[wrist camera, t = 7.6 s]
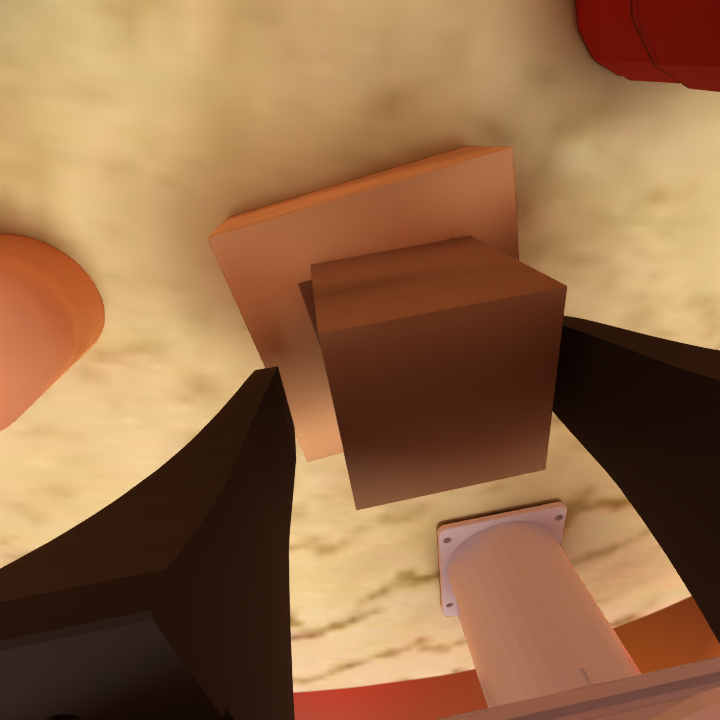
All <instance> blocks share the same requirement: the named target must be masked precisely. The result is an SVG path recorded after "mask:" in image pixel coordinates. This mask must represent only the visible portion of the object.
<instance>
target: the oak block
mask: <svg viewBox="0 0 720 720" xmlns="http://www.w3.org/2000/svg"><path fill="white" fill-rule="evenodd" d="M466 236H472V237H474V238H476V239H478V240H480V241H482V242H484V243H486V244H487V245H489V246H491V247H493V248H495V249H497V250H499V251H501V252H503V253H505V254H507V255H508V256H510V257H512V258H514V259H516V260H518V261H519V251H518V234H517V216H516V198H515V181H514V163H513V147H476V146H466V147H462V148H459V149H456V150H452V151H449V152H446V153H442V154H439V155H436V156H432V157H429V158H426V159H422V160H419V161H416V162H412V163H409V164H406V165H402V166H399V167H396V168H392V169H389V170H386V171H382V172H379V173H376V174H372V175H369V176H366V177H362V178H359V179H356V180H352V181H349V182H346V183H342V184H339V185H335V186H332V187H329V188H325V189H322V190H319V191H315V192H312V193H309V194H305V195H302V196H299V197H295V198H292V199H289V200H285V201H282V202H279V203H275V204H272V205H269V206H265V207H262V208H259V209H255V210H252V211H249V212H245V213H242V214H239V215H235V216H232V217H229V218H227V219H226V220H225V221H224V222H223V223H222V224H221V225H220V226H219V227H218V228H217V229H216V230H215V231H214V232H213V233H212V234H211V235H210V236H209V237H208V240H209V243H210V245H211V247H212V249H213V252H214V254H215V256H216V258H217V260H218V263H219V265H220V267H221V269H222V272H223V274H224V276H225V278H226V281H227V283H228V285H229V287H230V290H231V292H232V294H233V296H234V299H235V301H236V303H237V305H238V307H239V310H240V312H241V314H242V316H243V319H244V321H245V323H246V325H247V328H248V330H249V332H250V334H251V337H252V339H253V341H254V343H255V345H256V348H257V350H258V352H259V354H260V357H261V359H262V361H263V363H264V366H265V368H271V367H276V366H278V368H279V372H280V375H281V379H282V383H283V386H284V390H285V394H286V397H287V401H288V405H289V408H290V412H291V416H292V419H293V423H294V427H295V435H296V437H297V439H298V442H299V444H300V446H301V448H302V451H303V453H304V455H305V457H306V460H307V462H310V461H313V460H317V459H320V458H324V457H327V456H331V455H334V454H337V453H341V452H344V451H343V446H342V442H341V437H340V433H339V428H338V423H337V419H336V414H335V410H334V405H333V400H332V396H331V391H330V387H329V382H328V377H327V373H326V368H325V364H324V359H323V355H322V350H321V345H320V341H319V336H318V329H317V320H316V312H315V303H314V294H313V285H312V276H311V267H310V265H312V264H318V263H323V262H329V261H334V260H340V259H345V258H351V257H356V256H362V255H367V254H373V253H378V252H384V251H389V250H395V249H400V248H406V247H411V246H417V245H422V244H428V243H433V242H439V241H444V240H450V239H455V238H461V237H466Z"/></svg>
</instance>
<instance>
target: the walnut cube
mask: <svg viewBox="0 0 720 720" xmlns="http://www.w3.org/2000/svg"><path fill="white" fill-rule="evenodd" d="M310 267H311V276H312V285H313V294H314V303H315V312H316V320H317V329H318V336H319V341H320V345H321V350H322V355H323V359H324V364H325V368H326V373H327V377H328V382H329V387H330V391H331V396H332V400H333V405H334V410H335V414H336V419H337V423H338V428H339V433H340V437H341V442H342V446H343V451H344V456H345V460H346V465H347V469H348V474H349V479H350V483H351V488H352V492H353V497H354V501H355V506H356V510H360V509H364V508H369V507H374V506H378V505H383V504H388V503H392V502H397V501H402V500H406V499H411V498H415V497H420V496H425V495H429V494H434V493H439V492H443V491H448V490H452V489H457V488H462V487H466V486H471V485H476V484H480V483H485V482H490V481H494V480H499V479H503V478H508V477H513V476H517V475H522V474H527V473H531V472H536V471H540V470H545V468H546V459H547V451H548V442H549V434H550V426H551V417H552V409H553V400H554V392H555V383H556V375H557V367H558V358H559V350H560V341H561V333H562V325H563V316H564V308H565V299H566V291H567V286H566V285H564V284H562V283H560V282H558V281H556V280H554V279H552V278H550V277H548V276H547V275H545V274H543V273H541V272H539V271H537V270H535V269H533V268H531V267H529V266H528V265H526V264H524V263H522V262H520V261H518V260H516V259H514V258H512V257H510V256H508V255H507V254H505V253H503V252H501V251H499V250H497V249H495V248H493V247H491V246H489V245H487V244H486V243H484V242H482V241H480V240H478V239H476V238H474V237H472V236H466V237H461V238H455V239H450V240H444V241H439V242H433V243H428V244H422V245H417V246H411V247H406V248H400V249H395V250H389V251H384V252H378V253H373V254H367V255H362V256H356V257H351V258H345V259H340V260H334V261H329V262H323V263H318V264H312V265H310Z"/></svg>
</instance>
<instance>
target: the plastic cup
mask: <svg viewBox="0 0 720 720" xmlns="http://www.w3.org/2000/svg"><path fill="white" fill-rule="evenodd" d="M575 2H576V11H577V21H578V30H579V33H580V34H581V36H582V38H583V40H584V42H585V44H586V46H587V47H588V49H589V51H590V53H591V55H592V57H593V59H594V60H595V61H596V62H598V63H599V64H601V65H603V66H604V67H606V68H607V69H609V70H611V71H612V72H614V73H615V74H617V75H619V76H624V77H625V78H627V79H629V80H636V81H651V82H666V83H681V84H682V85H684V86H685V87H687V88H690V89H699V90H708V91H717V92H720V0H575Z"/></svg>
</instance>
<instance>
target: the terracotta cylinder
mask: <svg viewBox="0 0 720 720" xmlns="http://www.w3.org/2000/svg"><path fill="white" fill-rule="evenodd" d="M104 320H105V313H104V306H103V302H102V298H101V296H100V294H99V291H98V289H97V288H96V286H95V284H94V282H93V281H92V280H91V278H90V277H89V275H88V274H87V273H86V272H85V271H84V270H83V269H82V267H80V266H79V265H78V264H77V263H76V262H75V261H74V260H73V259H71V258H70V257H69V256H67V255H66V254H64V253H63V252H61V251H60V250H58V249H56V248H54V247H52V246H50V245H48V244H46V243H44V242H41V241H39V240H36V239H33V238H29V237H25V236H19V235H9V234H0V431H1V430H3V429H5V428H7V427H8V426H9V425H11V424H12V423H13V422H15V421H16V420H17V419H18V418H19V417H20V416H21V415H22V414H23V413H24V412H25V411H26V410H27V409H28V408H29V407H30V406H31V405H32V404H33V403H34V402H35V401H36V400H37V399H38V398H39V397H40V396H41V395H42V394H43V393H44V392H46V391H47V390H48V389H49V388H50V387H51V386H52V385H53V384H54V383H55V382H56V381H57V380H58V379H59V378H60V377H61V376H62V375H63V374H64V373H65V372H66V371H67V370H68V369H69V368H70V367H71V366H72V365H73V364H74V363H75V362H76V361H78V360H79V359H80V358H81V357H82V356H83V355H84V354H85V353H86V352H87V351H88V350H89V349H90V348H91V347H92V346H93V345H94V344H95V343H96V342H97V340H98V338H99V337H100V335H101V333H102V330H103V326H104Z"/></svg>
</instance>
